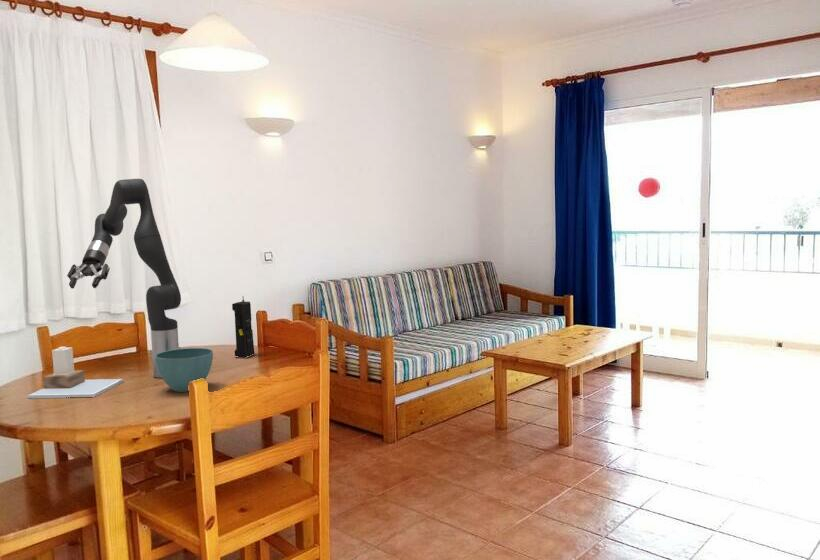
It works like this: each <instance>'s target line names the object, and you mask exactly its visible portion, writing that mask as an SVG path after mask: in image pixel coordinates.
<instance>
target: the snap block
mask: <svg viewBox="0 0 820 560" xmlns="http://www.w3.org/2000/svg"><path fill="white" fill-rule="evenodd" d="M51 352H52V353H51V354H52V366H53V367H52V368H53V373H54V375H67V374H70V373H72V372H74V370H75V365H74V352H73V347H67V346H59V347H58V348H55V349H52V351H51Z"/></svg>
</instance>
